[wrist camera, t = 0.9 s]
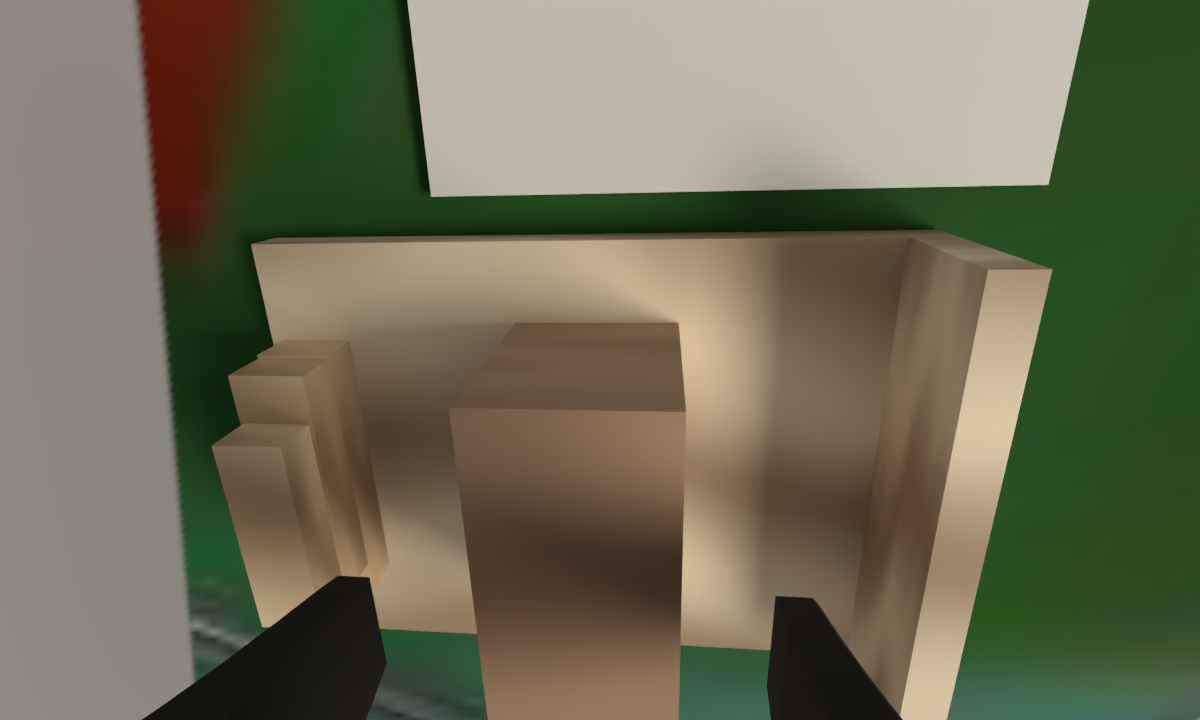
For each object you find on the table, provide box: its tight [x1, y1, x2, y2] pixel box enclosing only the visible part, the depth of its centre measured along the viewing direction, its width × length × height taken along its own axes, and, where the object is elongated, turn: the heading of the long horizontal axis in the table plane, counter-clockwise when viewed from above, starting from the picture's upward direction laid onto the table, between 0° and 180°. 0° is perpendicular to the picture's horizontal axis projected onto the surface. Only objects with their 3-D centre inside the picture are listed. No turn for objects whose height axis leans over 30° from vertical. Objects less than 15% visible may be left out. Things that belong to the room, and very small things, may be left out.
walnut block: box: [449, 323, 686, 720], centre depth 14 cm, size 8×4×5 cm, turn 2°
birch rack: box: [251, 229, 1052, 720], centre depth 15 cm, size 12×16×4 cm
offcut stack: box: [212, 341, 390, 627], centre depth 15 cm, size 7×2×3 cm, turn 2°
